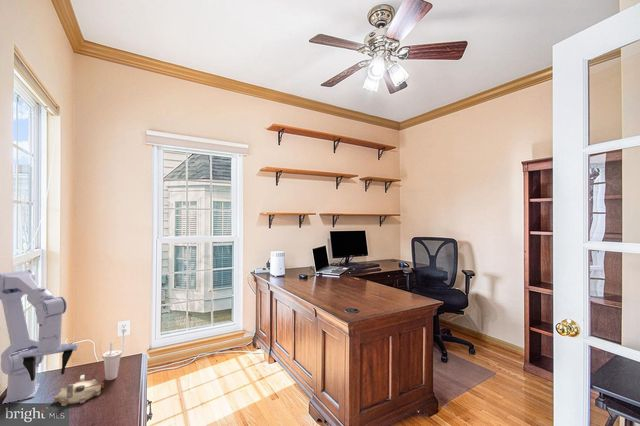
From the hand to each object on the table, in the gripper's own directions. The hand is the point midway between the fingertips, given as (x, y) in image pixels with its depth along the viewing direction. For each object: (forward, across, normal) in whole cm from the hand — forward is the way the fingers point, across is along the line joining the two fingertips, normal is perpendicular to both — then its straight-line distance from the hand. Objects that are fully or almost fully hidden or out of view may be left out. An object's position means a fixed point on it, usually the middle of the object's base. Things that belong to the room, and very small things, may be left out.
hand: (48, 376), depth 101 cm
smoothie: (+11, +18, +12) cm, 24 cm away
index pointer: (+10, +8, +13) cm, 18 cm away
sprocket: (+10, +8, +4) cm, 14 cm away
